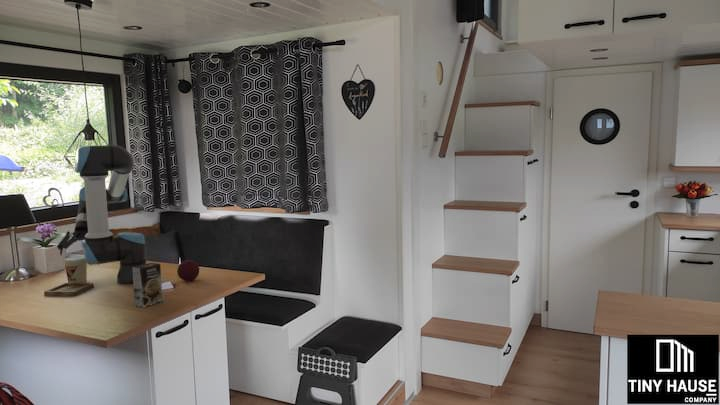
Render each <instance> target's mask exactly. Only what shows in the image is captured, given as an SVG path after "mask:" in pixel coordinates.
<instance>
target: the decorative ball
mask: <svg viewBox="0 0 720 405" xmlns="http://www.w3.org/2000/svg"><path fill="white" fill-rule="evenodd" d="M176 272H177V276H178V277H179V279H180V280H182V281H185V282H191V281H194V280H195V279H197V278H198V276H199V274H200V266H199V264H198V263H197V262H196V261H195V260H191V259H186V260H182V261H181V262H180V264H179V265H178V266H177V271H176Z"/></svg>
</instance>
